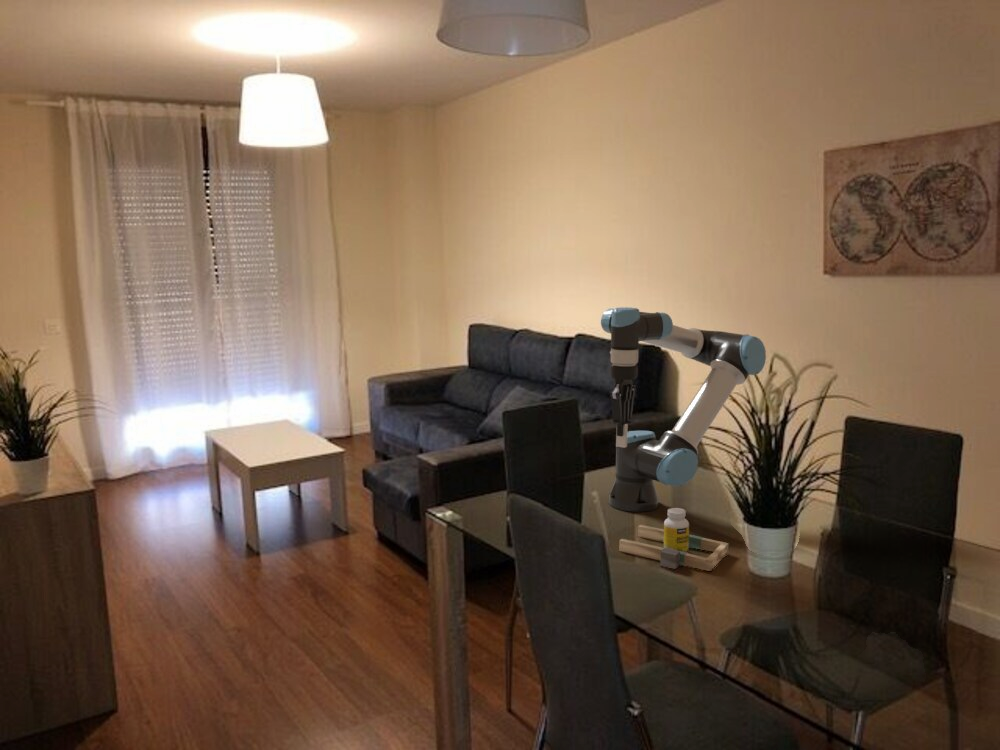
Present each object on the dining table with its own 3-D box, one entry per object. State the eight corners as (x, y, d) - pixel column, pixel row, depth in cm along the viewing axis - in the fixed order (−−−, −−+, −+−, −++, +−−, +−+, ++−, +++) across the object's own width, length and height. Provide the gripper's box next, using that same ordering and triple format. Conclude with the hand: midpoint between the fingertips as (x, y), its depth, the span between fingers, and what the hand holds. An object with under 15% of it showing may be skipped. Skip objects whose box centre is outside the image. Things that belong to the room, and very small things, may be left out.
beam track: (640, 534, 230) (640, 521, 229) (727, 553, 217) (728, 539, 216) (613, 555, 215) (614, 540, 215) (706, 577, 202) (706, 562, 201)
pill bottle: (671, 558, 213) (671, 516, 211) (659, 550, 219) (659, 508, 217) (693, 555, 215) (693, 512, 213) (680, 546, 221) (681, 505, 219)
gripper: (621, 359, 233) (618, 439, 237) (601, 365, 222) (599, 449, 226) (645, 361, 229) (643, 443, 233) (627, 368, 218) (624, 453, 223)
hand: (621, 446), depth 230 cm, fingers closed
